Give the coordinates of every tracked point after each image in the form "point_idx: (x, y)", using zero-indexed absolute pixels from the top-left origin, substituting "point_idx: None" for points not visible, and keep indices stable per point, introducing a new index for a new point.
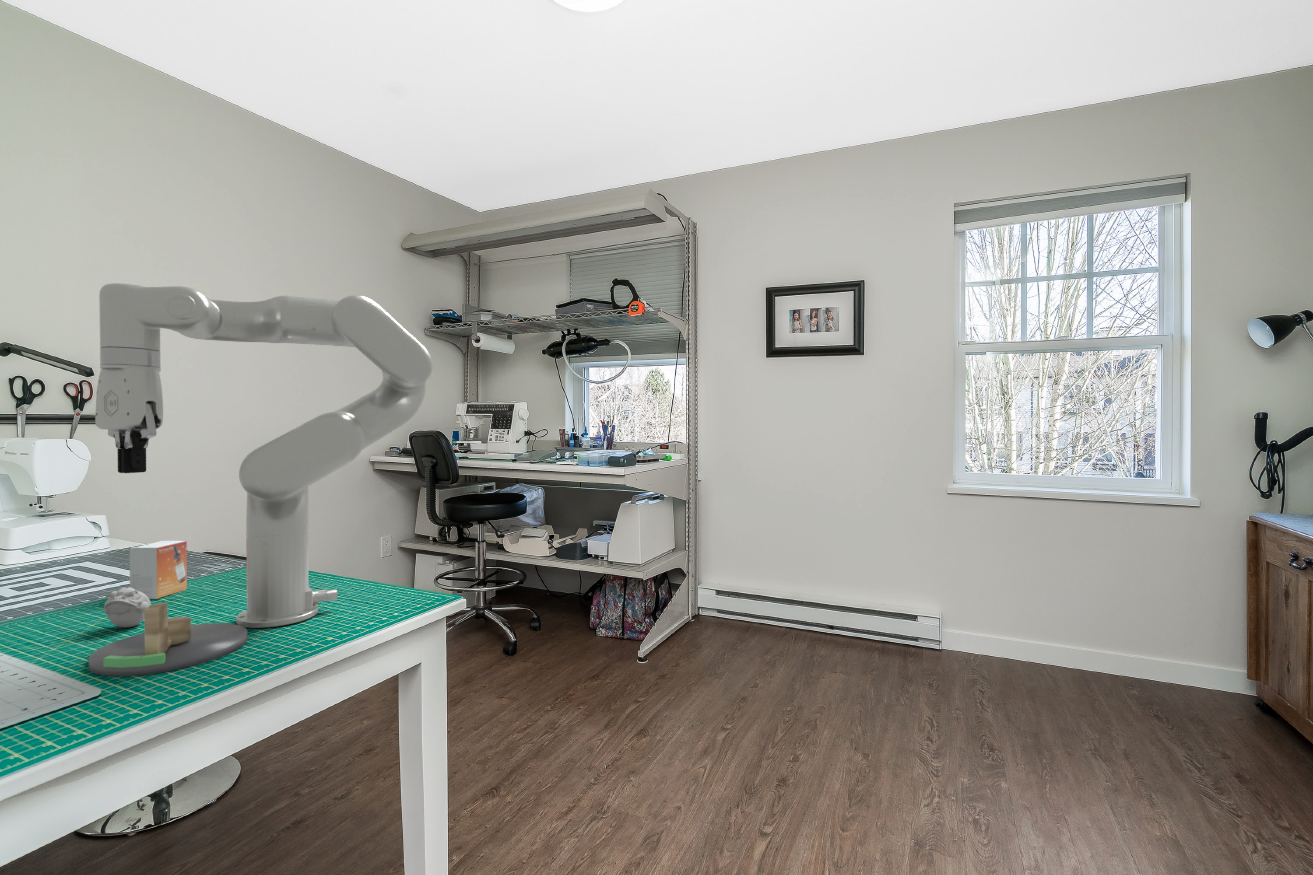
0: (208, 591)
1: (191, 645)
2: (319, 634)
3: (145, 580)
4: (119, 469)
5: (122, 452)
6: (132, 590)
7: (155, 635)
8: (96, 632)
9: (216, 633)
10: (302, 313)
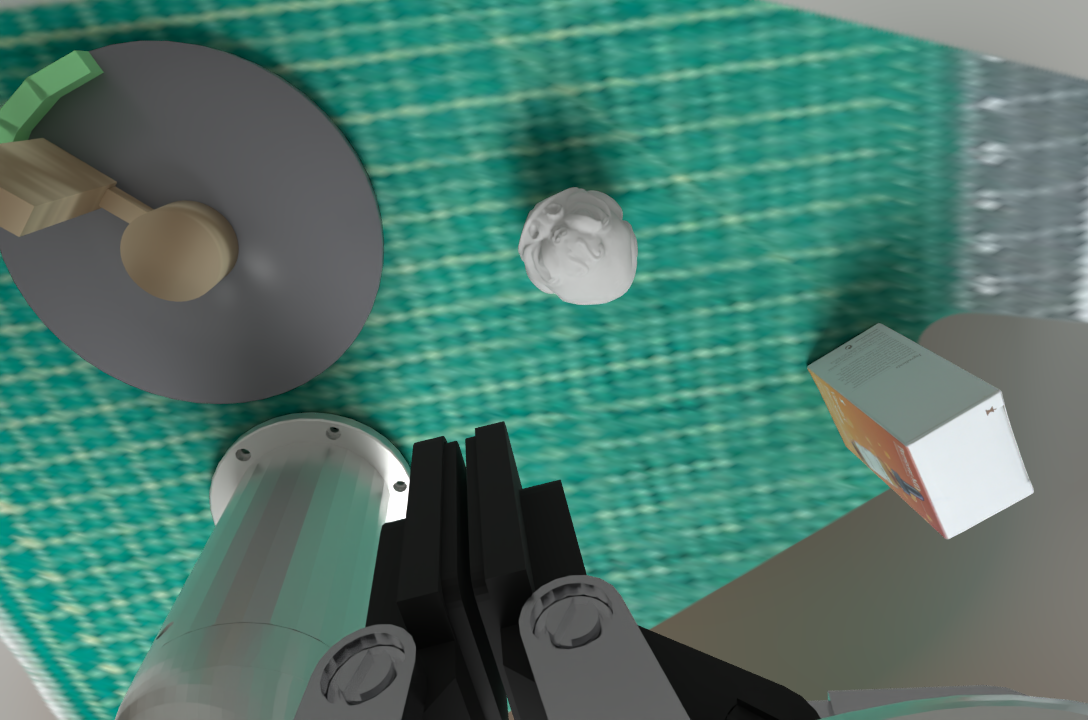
0: (768, 473)
1: None
2: (65, 503)
3: (868, 370)
4: (475, 436)
5: (421, 561)
6: (548, 264)
7: None
8: (587, 164)
9: (208, 341)
10: None
